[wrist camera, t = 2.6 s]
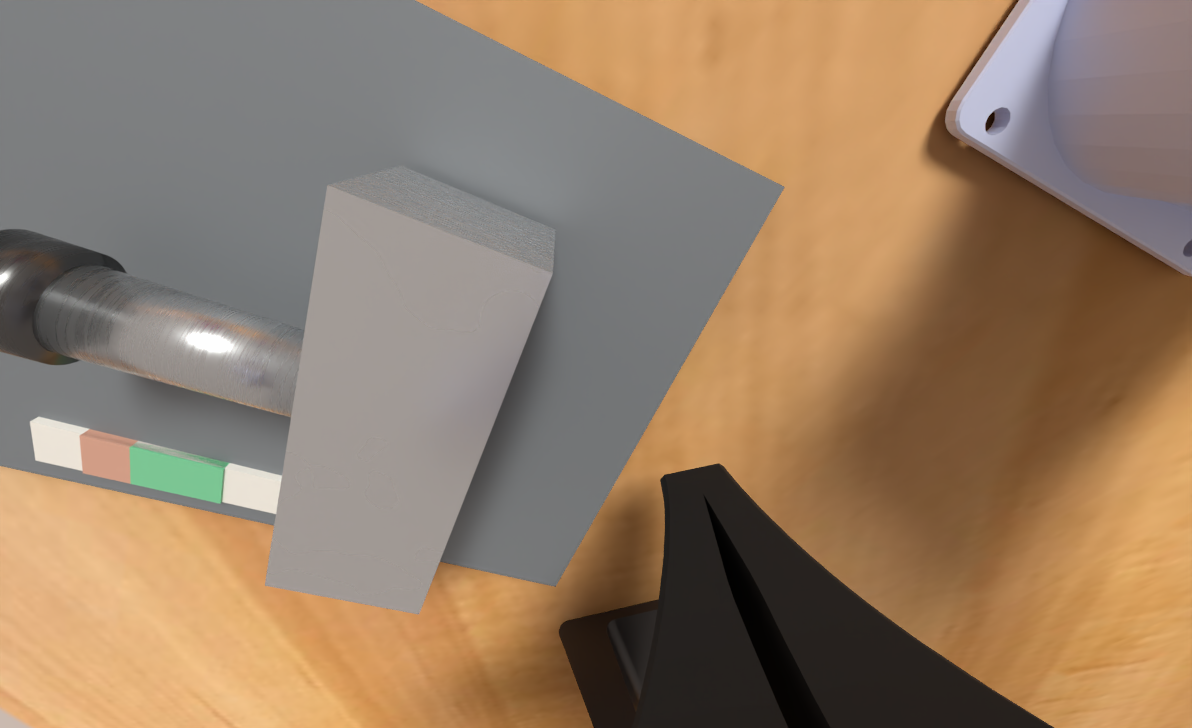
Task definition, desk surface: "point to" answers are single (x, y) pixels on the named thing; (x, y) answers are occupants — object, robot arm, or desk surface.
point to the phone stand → (611, 660)
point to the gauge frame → (293, 221)
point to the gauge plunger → (329, 366)
